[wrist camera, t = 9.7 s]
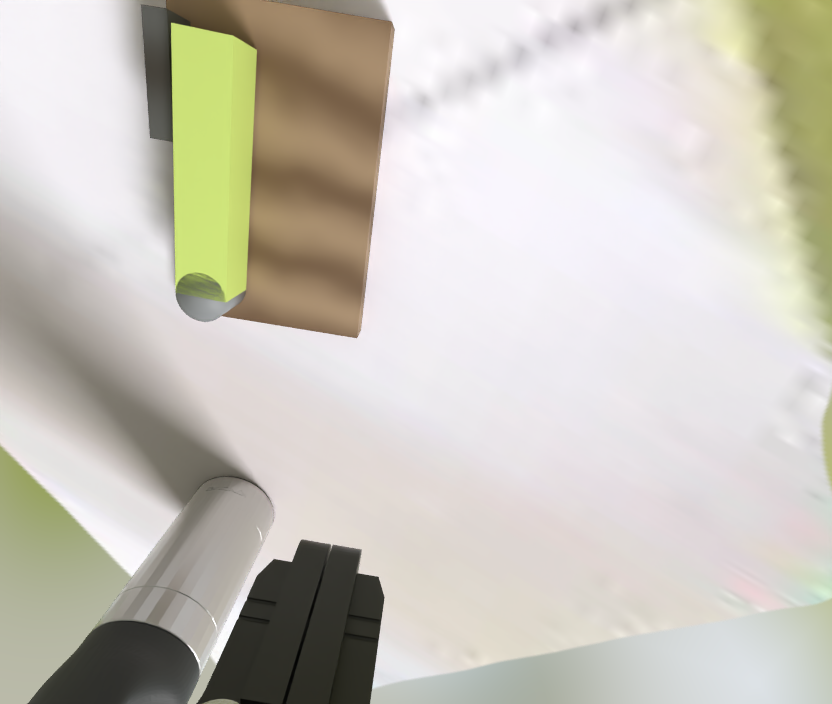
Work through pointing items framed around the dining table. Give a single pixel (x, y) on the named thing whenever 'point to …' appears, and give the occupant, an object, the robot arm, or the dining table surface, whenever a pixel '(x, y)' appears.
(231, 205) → the yellow-green long bar
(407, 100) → the dining table surface
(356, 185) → the board
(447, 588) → the dining table surface
